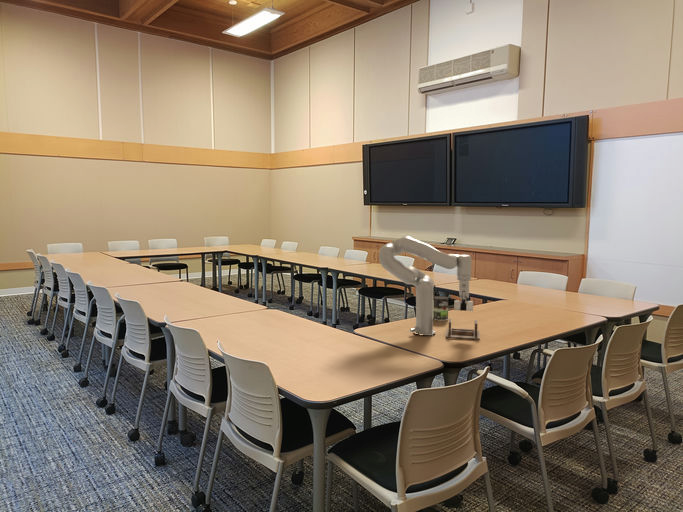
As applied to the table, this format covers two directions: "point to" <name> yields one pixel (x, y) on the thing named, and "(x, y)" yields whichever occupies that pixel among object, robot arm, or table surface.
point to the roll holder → (463, 333)
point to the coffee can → (440, 308)
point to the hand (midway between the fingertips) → (463, 308)
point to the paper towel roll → (468, 305)
